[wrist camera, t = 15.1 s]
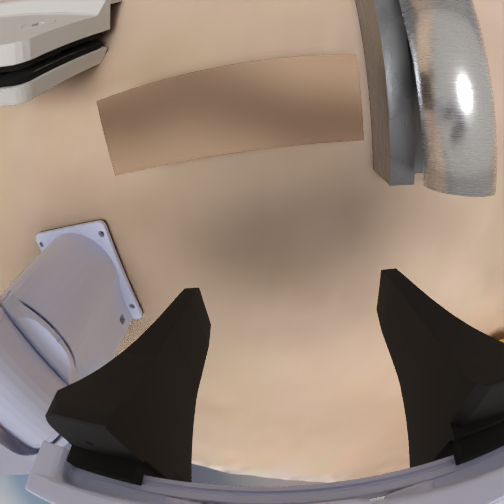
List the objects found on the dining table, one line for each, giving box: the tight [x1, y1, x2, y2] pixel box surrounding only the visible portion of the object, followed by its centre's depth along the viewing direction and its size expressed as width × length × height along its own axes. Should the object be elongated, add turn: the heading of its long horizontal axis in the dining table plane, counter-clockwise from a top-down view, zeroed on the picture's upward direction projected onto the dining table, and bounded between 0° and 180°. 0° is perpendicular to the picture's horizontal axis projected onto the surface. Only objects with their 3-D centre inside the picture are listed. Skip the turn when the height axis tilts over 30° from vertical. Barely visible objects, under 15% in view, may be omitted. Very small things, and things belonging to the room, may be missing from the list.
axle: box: [399, 0, 497, 197], centre depth 10 cm, size 10×4×4 cm, turn 9°
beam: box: [97, 54, 364, 176], centre depth 15 cm, size 4×12×5 cm, turn 99°
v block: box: [356, 0, 423, 186], centre depth 13 cm, size 12×6×3 cm, turn 9°
